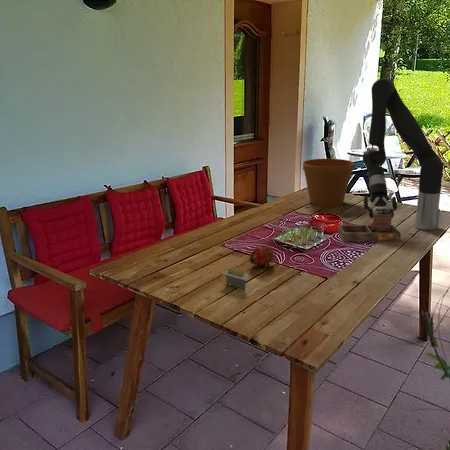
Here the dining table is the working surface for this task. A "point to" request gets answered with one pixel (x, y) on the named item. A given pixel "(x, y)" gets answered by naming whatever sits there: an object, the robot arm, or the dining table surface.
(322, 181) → the flowerpot
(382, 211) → the lighter
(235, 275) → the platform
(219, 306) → the dining table surface
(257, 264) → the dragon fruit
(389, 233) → the divided wooden tray
